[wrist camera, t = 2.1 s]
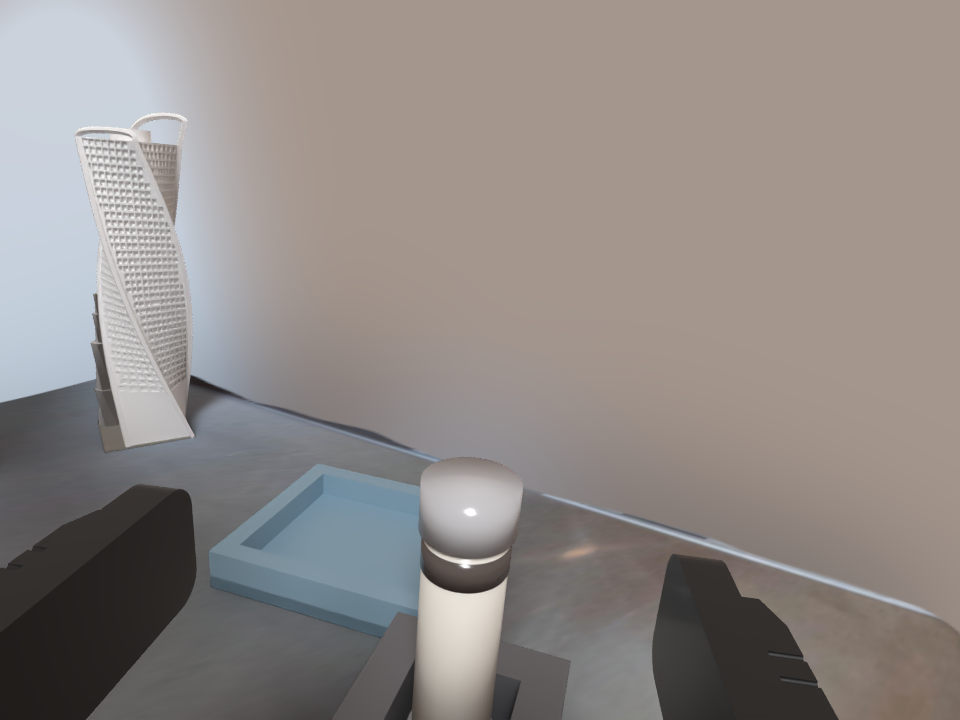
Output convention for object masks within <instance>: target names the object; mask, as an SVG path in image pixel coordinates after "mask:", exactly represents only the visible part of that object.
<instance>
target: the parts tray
mask: <svg viewBox="0 0 960 720" xmlns="http://www.w3.org/2000/svg"><path fill="white" fill-rule="evenodd" d="M419 502H420V487H418V486H414V485H410V484H405V483H401V482H396V481H392V480H388V479H383V478H379V477H374V476H370V475H366V474H361V473H357V472H352V471H348V470H344V469H339V468H335V467H330V466H326V465H322V464H317V465H315V466H314V467H313V468H312V469H310V470H309V471H308V472H307V473H305V474H304V475H303V476H302V477H301V478H299V479H298V480H297V481H296V482H294V483H293V484H292V485H291V486H289V487H288V488H287V489H286V490H284V491H283V492H282V493H281V494H279V495H278V496H277V497H276V498H274V499H273V500H272V501H271V502H269V503H268V504H267V505H266V506H264V507H263V508H262V509H261V510H259V511H258V512H257V513H256V514H254V515H253V516H252V517H251V518H249V519H248V520H247V521H246V522H244V523H243V524H242V525H241V526H239V527H238V528H237V529H236V530H234V531H233V532H232V533H231V534H229V535H228V536H227V537H226V538H224V539H223V540H222V541H221V542H219V543H218V544H217V545H216V546H214V547H213V548H212V549H211V550H210V551H209V564H210V579H211V587H214V588H217V589H220V590H224V591H227V592H230V593H234V594H237V595H240V596H244V597H247V598H250V599H254V600H257V601H260V602H264V603H267V604H270V605H274V606H277V607H280V608H284V609H287V610H290V611H294V612H297V613H300V614H304V615H307V616H310V617H314V618H317V619H320V620H324V621H327V622H330V623H334V624H337V625H340V626H344V627H347V628H350V629H354V630H357V631H360V632H364V633H367V634H370V635H374V636H377V637H380V638H382V637H383V635H384V633H385V632H386V630H387V628H388V627H389V625H390V624H391V622H392V620H393V619H394V617H395V615H396V614H397V612H401V613H405V614H408V615H412V616H415V617H418V606H419V589H420V573H421V567H420V552H421V536H420V534H419V530H418V519H419Z"/></svg>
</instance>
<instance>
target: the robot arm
mask: <svg viewBox="0 0 960 720" xmlns="http://www.w3.org/2000/svg"><path fill="white" fill-rule="evenodd" d="M195 578H196V555H195V541H194V528H193V515H192V503H191V499H190V496H189V494H188V493H187V492H186V491H185V490H182V489H174V488H167V487H159V486H151V485H143V484H139V485H135V486H133V487H132V488H130V489H129V490H127V491H126V492H124V493H123V494H122V495H120V496H119V497H118V498H116V499H115V500H113V501H112V502H111V503H109V504H108V505H106V506H105V507H104V508H102V509H101V510H97V511H95V512H93V513H90V514H88V515H86V516H83V517H81V518H79V519H76V520H74V521H72V522H69V523H67V524H65V525H63V526H61V527H60V528H58V529H57V530H55V531H54V532H53V533H51V534H50V535H48V536H47V537H45V538H44V539H43V540H41V541H40V542H38V543H37V544H35V545H34V546H33V549H32V550H31V551H30V550H27V551H25V552H24V553H22V554H21V555H20V556H18V557H17V558H15V559H14V560H12V561H11V562H10V563H8V567H7V568H6V569H5V568H1V569H0V720H86V719H87V718H88V716H89V715H90V714H91V713H92V712H93V711H94V710H95V708H96V707H97V706H98V705H99V704H100V703H101V701H102V700H103V699H104V698H105V697H106V696H107V695H108V693H109V692H110V691H111V690H112V689H113V688H114V686H115V685H116V684H117V683H118V682H119V681H120V679H121V678H122V677H123V676H124V675H125V674H126V673H127V671H128V670H129V669H130V668H131V667H132V666H133V664H134V663H135V662H136V661H137V660H138V659H139V658H140V656H141V655H142V654H143V653H144V652H145V651H146V649H147V648H148V647H149V646H150V645H151V644H152V643H153V641H154V640H155V639H156V638H157V637H158V636H159V634H160V633H161V632H162V631H163V630H164V629H165V628H166V626H167V625H168V624H169V623H170V622H171V621H172V619H173V618H174V617H175V616H176V615H177V614H178V612H179V611H180V610H181V609H182V608H183V606H184V605H185V603H186V602H187V600H188V598H189V596H190V594H191V592H192V589H193V586H194V582H195ZM652 663H653V673H654V679H655V684H656V689H657V693H658V698H659V702H660V707H661V711H662V716H663V720H839V719H838V718H837V716H836V714H835V712H834V710H833V709H832V707H831V705H830V703H829V701H828V700H827V698H826V696H825V694H824V692H823V690H822V689H821V688H818V685H817V682H818V681H817V680H816V678H815V676H814V674H813V672H812V670H811V669H810V667H809V665H808V663H807V662H804V660H803V654H802V652H801V651H800V649H799V647H798V645H797V643H796V641H795V640H794V638H793V636H792V634H791V632H790V631H789V629H788V627H787V625H785V624H784V623H783V622H782V621H781V620H780V619H779V618H778V617H777V616H776V615H775V614H774V613H773V612H772V611H771V610H770V609H769V608H768V607H767V606H766V605H765V604H764V603H762V602H761V601H760V600H759V599H754V598H746V597H741V595H740V593H739V591H738V589H737V587H736V584H735V582H734V580H733V578H732V576H731V574H730V572H729V570H728V568H727V566H726V564H725V563H724V562H723V561H722V560H715V559H708V558H700V557H692V556H684V555H677V554H673V555H672V556H671V557H670V559H669V562H668V565H667V569H666V574H665V579H664V584H663V589H662V594H661V600H660V605H659V610H658V615H657V620H656V625H655V630H654V635H653V646H652Z"/></svg>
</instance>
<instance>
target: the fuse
mask: <svg viewBox="0 0 960 720" xmlns="http://www.w3.org/2000/svg"><path fill="white" fill-rule="evenodd" d="M522 492H523V483H522V480H521V478H520V477H519V476H518V475H517V474H516V473H515V472H514V471H513V470H511V469H510V468H508V467H506V466H504V465H502V464H500V463H497V462H494V461H491V460H487V459H481V458H472V457H459V458H450V459H445V460H441V461H438V462H436V463H434V464H432V465H430V466H429V467H427V468H426V469H425V470H424V472H423V473H422V476H421V485H420V502H419V519H418V530H419V534H420V536H421V552H420V567H421V573H420V589H419V606H418V622H417V638H416V654H415V670H414V686H413V702H412V710H411V712H410V714H409V717H408V720H492V718H491V714H492V705H493V696H494V688H495V679H496V670H497V662H498V653H499V644H500V635H501V627H502V618H503V609H504V601H505V592H506V583H507V576H508V573H509V569H510V560H511V551H512V545H513V544H514V542H515V541H516V538H517V534H518V526H519V517H520V509H521V500H522Z"/></svg>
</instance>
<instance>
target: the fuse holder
mask: <svg viewBox="0 0 960 720" xmlns="http://www.w3.org/2000/svg"><path fill="white" fill-rule="evenodd" d="M417 622H418V617H415V616H412V615H408V614H405V613H401V612H397V614H396V615H395V617H394V619H393V620H392V622H391V624H390V625H389V627H388V628H387V630H386V632H385V633H384V635H383V637H382V638H381V640H380V641H379V643H378V645H377V646H376V648H375V650H374V651H373V653H372V654H371V656H370V658H369V659H368V661H367V663H366V664H365V666H364V667H363V669H362V671H361V672H360V674H359V676H358V677H357V679H356V680H355V682H354V684H353V685H352V687H351V689H350V690H349V692H348V693H347V695H346V697H345V698H344V700H343V702H342V703H341V705H340V706H339V708H338V710H337V711H336V713H335V715H334V716H333V718H332V719H331V720H407V718H408V716H409V713H410V711H411V709H412V702H413V686H414V670H415V654H416V638H417ZM570 662H571V661H569V660H566V659H562V658H559V657H555V656H552V655H548V654H545V653H541V652H538V651H534V650H531V649H527V648H524V647H520V646H517V645H513V644H510V643H506V642H503V641H500V644H499V653H498V662H497V670H496V679H495V688H494V696H493V705H492V714H491V718H492V720H561V717H562V711H563V705H564V699H565V693H566V687H567V680H568V674H569V668H570Z"/></svg>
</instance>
